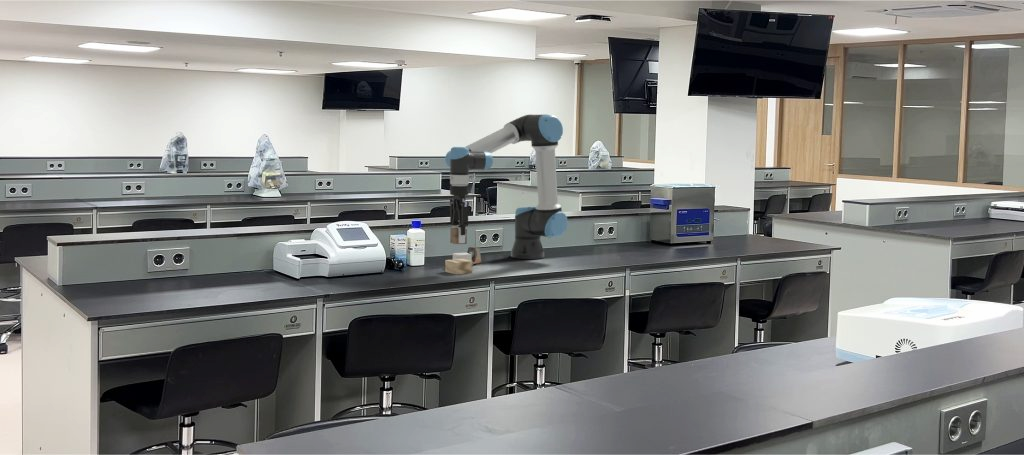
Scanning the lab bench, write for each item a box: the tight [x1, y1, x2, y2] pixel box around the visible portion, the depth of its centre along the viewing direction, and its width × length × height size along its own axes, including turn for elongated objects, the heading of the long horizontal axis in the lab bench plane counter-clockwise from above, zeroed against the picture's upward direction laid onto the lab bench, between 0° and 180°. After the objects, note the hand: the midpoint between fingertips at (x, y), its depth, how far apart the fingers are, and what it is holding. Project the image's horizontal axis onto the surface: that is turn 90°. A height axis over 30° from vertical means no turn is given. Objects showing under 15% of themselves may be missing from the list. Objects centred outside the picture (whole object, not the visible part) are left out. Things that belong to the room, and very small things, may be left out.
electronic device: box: [466, 246, 482, 266], centre depth 403 cm, size 4×10×8 cm, turn 161°
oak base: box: [444, 258, 474, 275], centre depth 381 cm, size 8×8×5 cm
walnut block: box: [449, 227, 468, 245], centre depth 380 cm, size 5×5×6 cm
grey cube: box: [452, 252, 472, 261], centre depth 393 cm, size 6×6×6 cm
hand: (458, 242), depth 380 cm, fingers closed on walnut block, 5 cm apart
